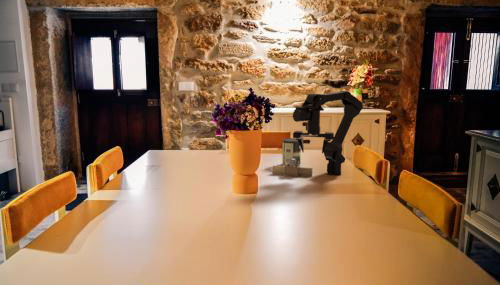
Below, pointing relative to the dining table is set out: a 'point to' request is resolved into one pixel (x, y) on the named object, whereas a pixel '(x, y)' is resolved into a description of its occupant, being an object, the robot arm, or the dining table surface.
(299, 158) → the coffee can
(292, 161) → the pin
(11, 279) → the dining table surface
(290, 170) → the wooden box with arms
